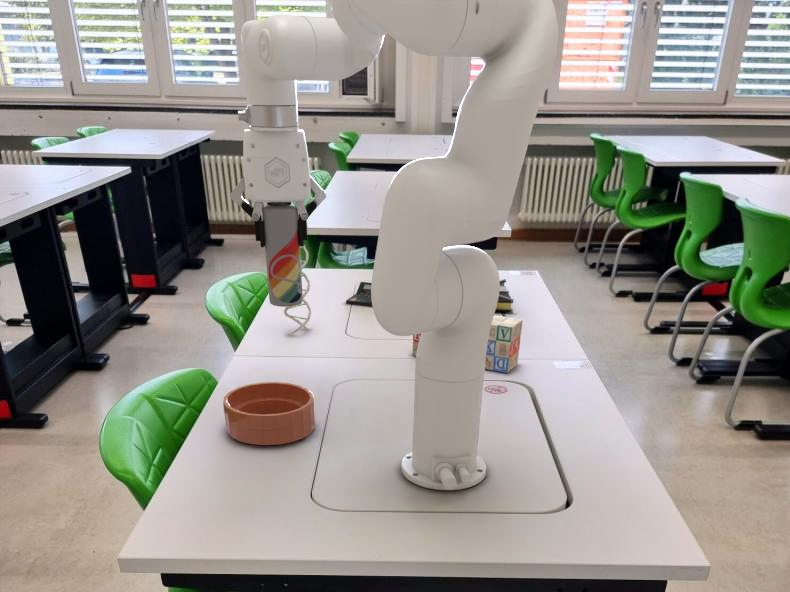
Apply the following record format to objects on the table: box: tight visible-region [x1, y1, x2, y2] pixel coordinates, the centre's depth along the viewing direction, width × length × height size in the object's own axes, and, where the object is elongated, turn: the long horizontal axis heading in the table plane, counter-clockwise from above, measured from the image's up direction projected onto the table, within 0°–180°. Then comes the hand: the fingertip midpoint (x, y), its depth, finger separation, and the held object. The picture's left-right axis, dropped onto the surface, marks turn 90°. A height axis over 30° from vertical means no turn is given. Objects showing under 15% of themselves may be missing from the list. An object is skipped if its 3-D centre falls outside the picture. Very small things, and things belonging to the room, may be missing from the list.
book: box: [495, 278, 514, 314], centre depth 188 cm, size 22×17×5 cm
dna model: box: [283, 201, 312, 336], centre depth 156 cm, size 7×6×30 cm
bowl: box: [222, 381, 316, 446], centre depth 118 cm, size 14×14×6 cm
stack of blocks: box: [412, 314, 523, 374], centre depth 147 cm, size 21×6×12 cm, turn 62°
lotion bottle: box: [261, 202, 304, 308], centre depth 120 cm, size 6×6×20 cm
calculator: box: [345, 281, 373, 308], centre depth 188 cm, size 9×12×3 cm
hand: (282, 244), depth 120 cm, fingers closed on lotion bottle, 5 cm apart
